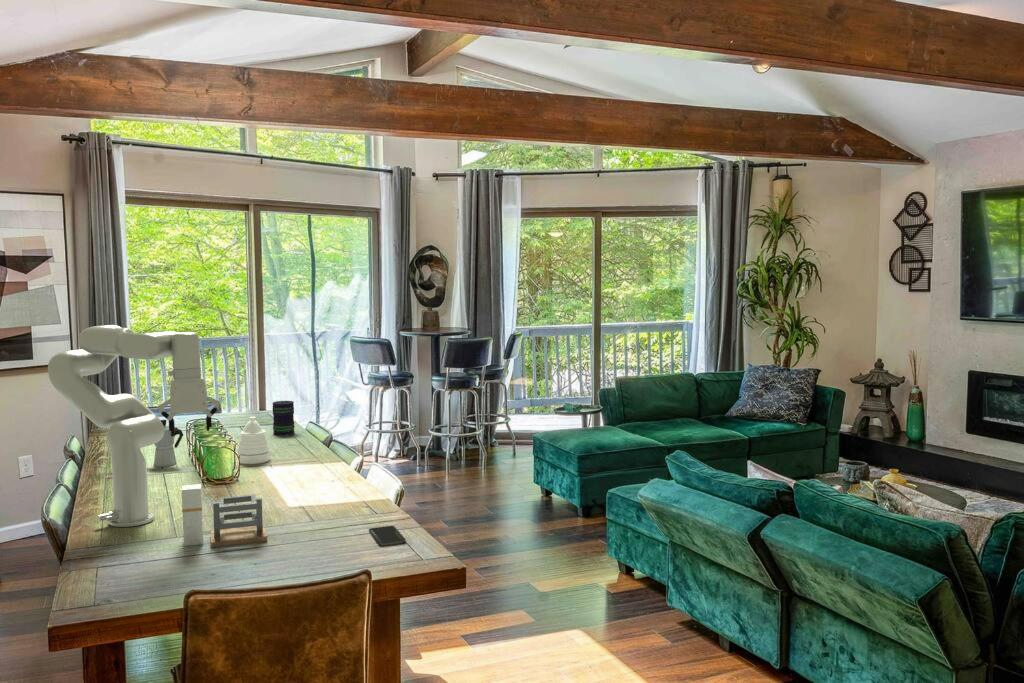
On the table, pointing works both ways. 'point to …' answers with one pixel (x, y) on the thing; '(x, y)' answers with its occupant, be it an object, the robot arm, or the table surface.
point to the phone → (387, 536)
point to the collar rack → (238, 522)
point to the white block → (192, 514)
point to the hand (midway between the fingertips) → (190, 431)
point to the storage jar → (283, 418)
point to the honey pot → (253, 444)
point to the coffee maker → (166, 447)
